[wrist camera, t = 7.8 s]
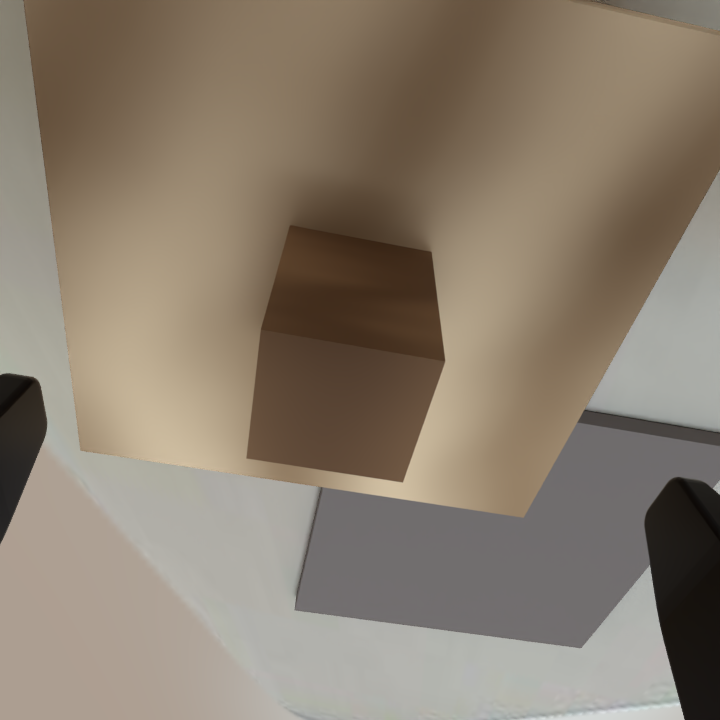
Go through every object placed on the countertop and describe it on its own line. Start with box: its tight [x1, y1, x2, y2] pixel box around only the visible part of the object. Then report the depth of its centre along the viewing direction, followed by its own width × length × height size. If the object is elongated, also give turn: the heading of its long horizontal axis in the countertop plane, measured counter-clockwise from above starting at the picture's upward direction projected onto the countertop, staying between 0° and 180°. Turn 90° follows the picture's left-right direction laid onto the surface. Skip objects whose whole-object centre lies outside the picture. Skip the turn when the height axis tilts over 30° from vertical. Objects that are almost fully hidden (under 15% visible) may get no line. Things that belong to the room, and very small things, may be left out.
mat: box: [295, 411, 720, 648], centre depth 29 cm, size 16×16×1 cm
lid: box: [24, 0, 720, 518], centre depth 13 cm, size 14×14×5 cm
